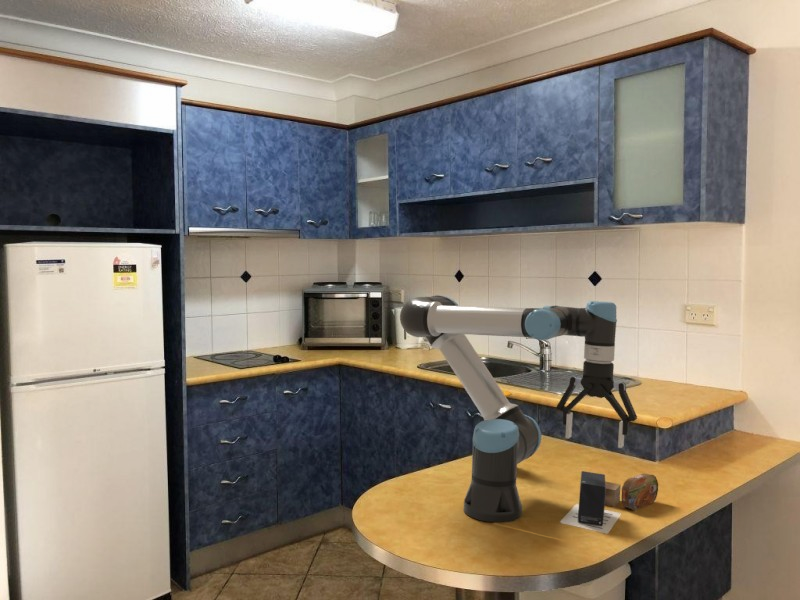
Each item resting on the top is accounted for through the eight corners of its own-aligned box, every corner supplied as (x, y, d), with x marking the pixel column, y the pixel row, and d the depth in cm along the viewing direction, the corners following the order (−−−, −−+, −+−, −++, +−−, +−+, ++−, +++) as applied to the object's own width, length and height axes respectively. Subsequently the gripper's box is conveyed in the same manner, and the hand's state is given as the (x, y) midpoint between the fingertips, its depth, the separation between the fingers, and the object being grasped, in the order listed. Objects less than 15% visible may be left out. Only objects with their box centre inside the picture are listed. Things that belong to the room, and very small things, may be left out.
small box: (604, 526, 166) (606, 485, 165) (577, 523, 168) (579, 482, 167) (603, 512, 176) (605, 473, 175) (578, 508, 178) (580, 470, 177)
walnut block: (592, 503, 183) (593, 485, 183) (598, 497, 188) (599, 480, 188) (614, 508, 180) (615, 490, 180) (619, 501, 185) (620, 484, 185)
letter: (559, 523, 168) (559, 522, 168) (576, 504, 182) (576, 503, 182) (607, 534, 162) (607, 533, 162) (621, 514, 176) (621, 513, 176)
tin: (628, 513, 177) (630, 482, 176) (618, 509, 179) (619, 479, 178) (658, 502, 186) (660, 472, 186) (648, 498, 188) (649, 469, 188)
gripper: (547, 357, 174) (543, 436, 176) (645, 368, 161) (640, 454, 163) (556, 354, 181) (552, 431, 182) (652, 365, 168) (647, 447, 169)
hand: (594, 442), depth 172 cm, fingers open, 13 cm apart
